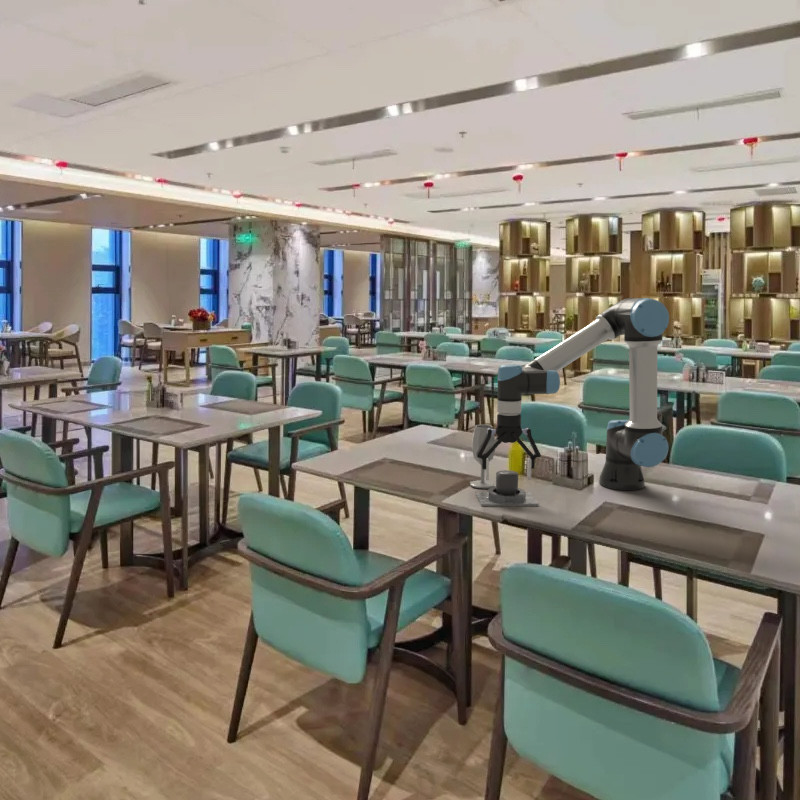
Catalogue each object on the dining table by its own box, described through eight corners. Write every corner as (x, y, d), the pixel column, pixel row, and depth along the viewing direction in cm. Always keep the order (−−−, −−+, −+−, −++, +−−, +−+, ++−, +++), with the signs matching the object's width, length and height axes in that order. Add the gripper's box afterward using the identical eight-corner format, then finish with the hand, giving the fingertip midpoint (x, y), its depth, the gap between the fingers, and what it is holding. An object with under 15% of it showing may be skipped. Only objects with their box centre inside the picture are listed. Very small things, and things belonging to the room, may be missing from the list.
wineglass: (475, 490, 249) (476, 428, 246) (466, 483, 257) (467, 424, 254) (499, 488, 251) (501, 427, 248) (489, 482, 259) (491, 423, 256)
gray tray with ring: (529, 494, 244) (529, 485, 243) (538, 506, 231) (538, 496, 230) (475, 494, 243) (475, 485, 242) (481, 506, 230) (481, 496, 230)
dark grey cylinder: (515, 494, 240) (516, 470, 239) (519, 500, 233) (520, 475, 232) (493, 494, 240) (494, 470, 239) (497, 500, 233) (498, 475, 232)
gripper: (545, 411, 237) (543, 475, 240) (468, 411, 236) (467, 476, 239) (551, 415, 230) (549, 481, 233) (471, 415, 228) (470, 482, 232)
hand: (507, 479), depth 236 cm, fingers open, 13 cm apart
